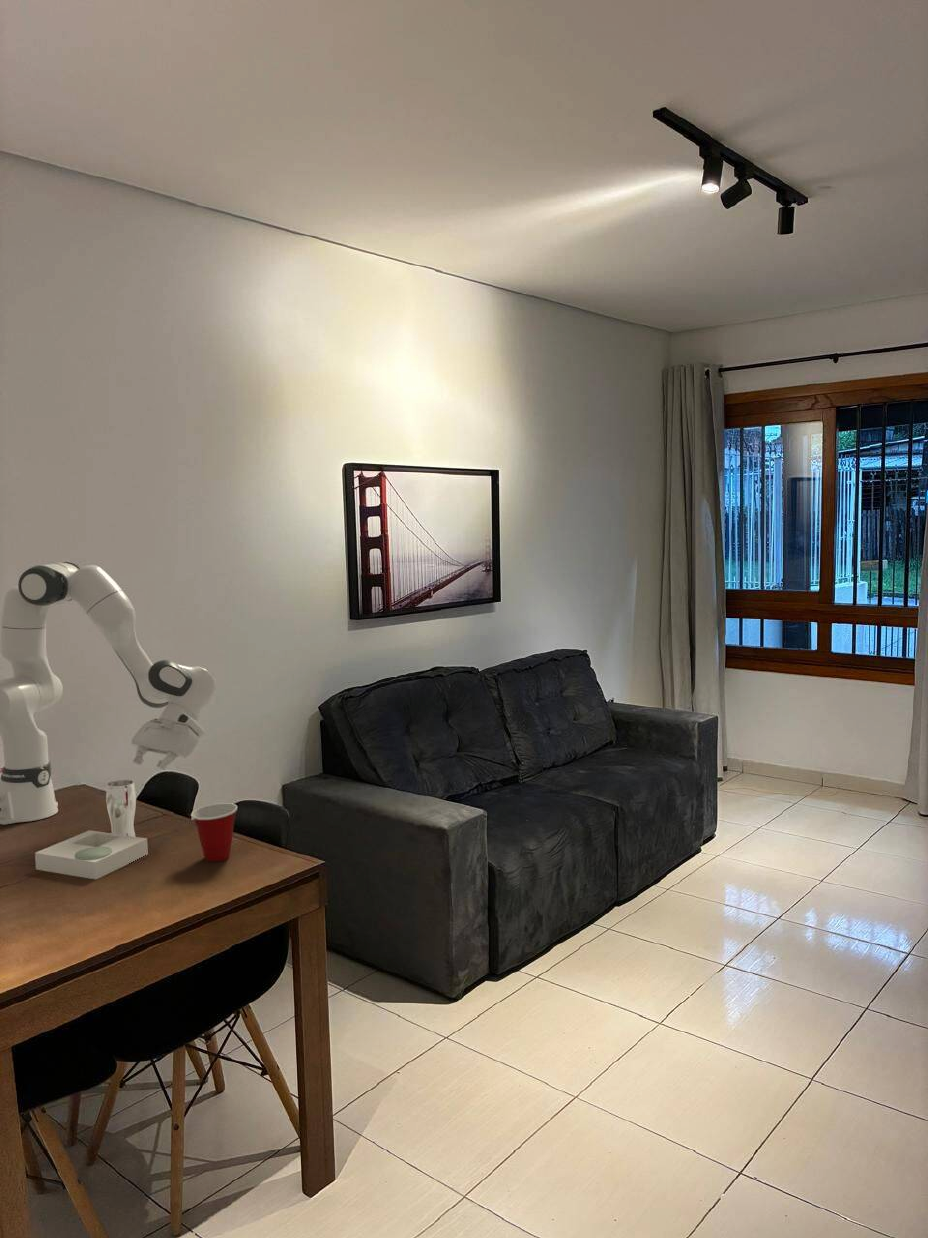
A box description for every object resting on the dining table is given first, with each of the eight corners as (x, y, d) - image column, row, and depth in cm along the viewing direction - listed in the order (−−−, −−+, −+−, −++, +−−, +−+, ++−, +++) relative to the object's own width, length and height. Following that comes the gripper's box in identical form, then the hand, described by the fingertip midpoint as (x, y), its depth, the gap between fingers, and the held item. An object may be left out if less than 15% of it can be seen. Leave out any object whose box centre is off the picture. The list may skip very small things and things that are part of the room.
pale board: (36, 869, 216) (34, 851, 216) (90, 846, 232) (89, 829, 232) (96, 879, 210) (95, 861, 209) (148, 854, 225) (147, 837, 225)
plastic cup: (191, 853, 226) (188, 805, 225) (236, 847, 230) (234, 800, 228) (194, 868, 216) (192, 818, 215) (242, 862, 220) (240, 812, 218)
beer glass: (142, 836, 239) (139, 779, 237) (130, 845, 232) (127, 787, 230) (116, 835, 240) (113, 778, 238) (103, 845, 233) (100, 786, 231)
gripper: (143, 711, 252) (114, 754, 245) (195, 719, 241) (166, 764, 234) (157, 724, 256) (129, 767, 249) (209, 732, 245) (181, 777, 238)
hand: (148, 766), depth 241 cm, fingers open, 8 cm apart
